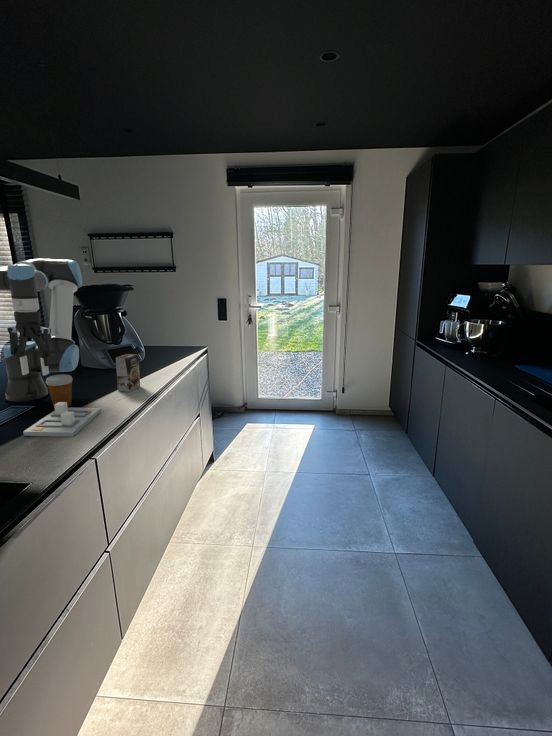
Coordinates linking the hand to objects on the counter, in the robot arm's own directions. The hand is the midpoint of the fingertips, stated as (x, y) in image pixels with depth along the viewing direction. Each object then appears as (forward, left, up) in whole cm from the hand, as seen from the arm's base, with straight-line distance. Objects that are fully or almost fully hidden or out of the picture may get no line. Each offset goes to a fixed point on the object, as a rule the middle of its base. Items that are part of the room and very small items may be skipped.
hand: (35, 374), depth 129 cm
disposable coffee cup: (+1, +13, -17) cm, 21 cm away
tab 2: (+15, -9, -15) cm, 23 cm away
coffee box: (+20, +36, -17) cm, 44 cm away
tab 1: (+7, 0, -15) cm, 17 cm away
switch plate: (+11, -4, -17) cm, 21 cm away
